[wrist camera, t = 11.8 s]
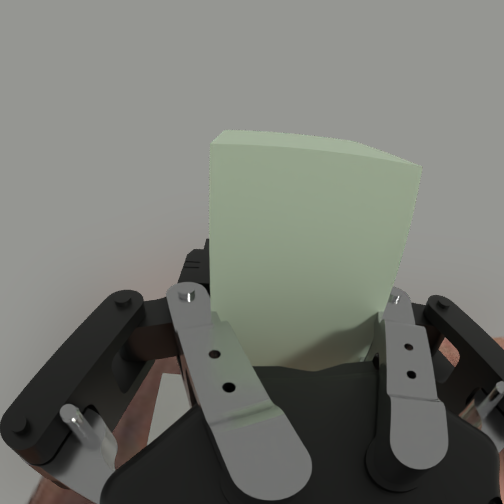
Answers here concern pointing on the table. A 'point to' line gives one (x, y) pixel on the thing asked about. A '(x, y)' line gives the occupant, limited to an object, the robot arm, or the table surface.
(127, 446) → the table surface
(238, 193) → the sage block
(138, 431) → the table surface
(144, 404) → the table surface
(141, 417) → the table surface
